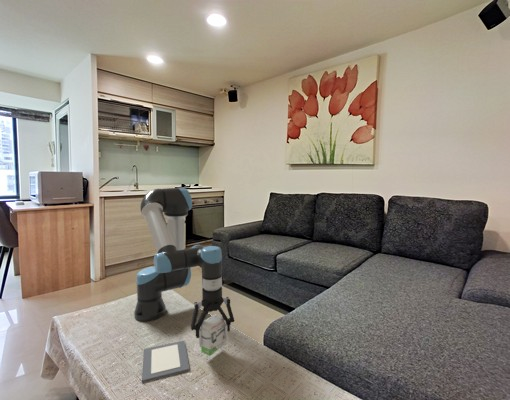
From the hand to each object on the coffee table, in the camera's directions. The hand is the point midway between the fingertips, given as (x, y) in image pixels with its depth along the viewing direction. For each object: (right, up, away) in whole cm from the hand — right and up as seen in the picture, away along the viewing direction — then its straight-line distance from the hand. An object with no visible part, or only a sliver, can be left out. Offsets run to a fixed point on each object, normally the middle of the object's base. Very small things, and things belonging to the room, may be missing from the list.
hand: (213, 341), depth 106 cm
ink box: (0, -3, 0) cm, 3 cm away
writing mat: (-18, -6, -2) cm, 19 cm away
